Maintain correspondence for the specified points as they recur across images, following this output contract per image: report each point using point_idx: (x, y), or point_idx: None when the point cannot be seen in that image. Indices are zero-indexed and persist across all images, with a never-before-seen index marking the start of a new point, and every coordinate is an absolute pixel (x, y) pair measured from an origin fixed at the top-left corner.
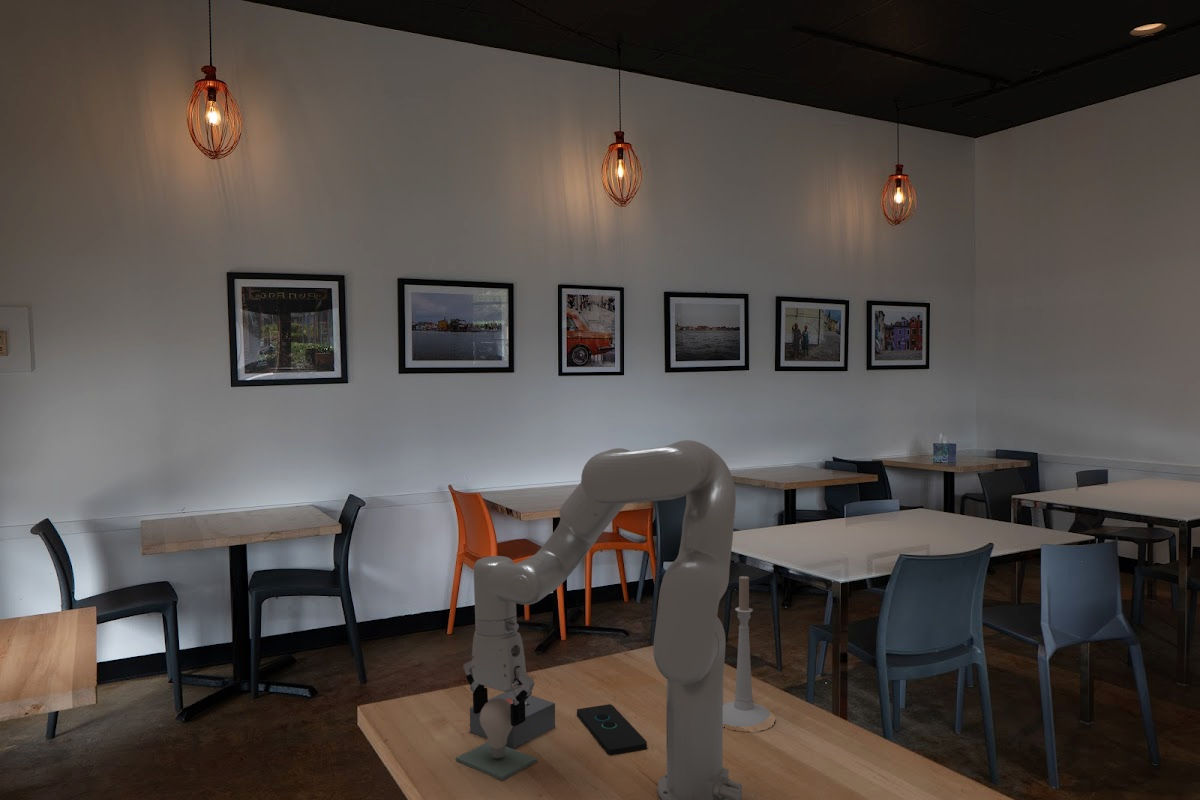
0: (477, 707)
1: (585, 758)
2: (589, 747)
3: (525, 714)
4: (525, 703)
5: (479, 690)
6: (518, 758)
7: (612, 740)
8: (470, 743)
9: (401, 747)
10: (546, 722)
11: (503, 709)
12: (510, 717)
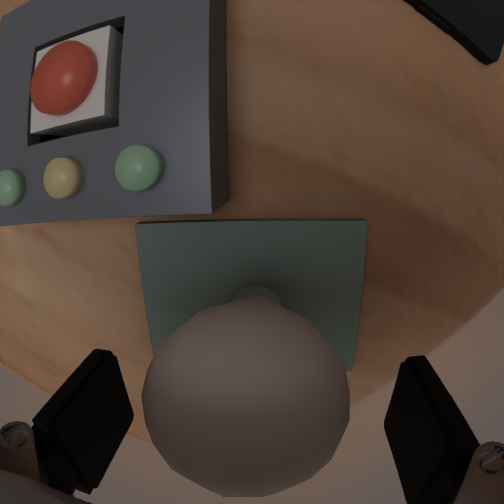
0: (121, 430)
1: (459, 112)
2: (420, 43)
3: (183, 95)
4: (108, 32)
5: (73, 477)
6: (316, 262)
7: (461, 7)
8: (95, 263)
9: (33, 368)
10: (221, 14)
11: (323, 465)
12: (349, 408)
